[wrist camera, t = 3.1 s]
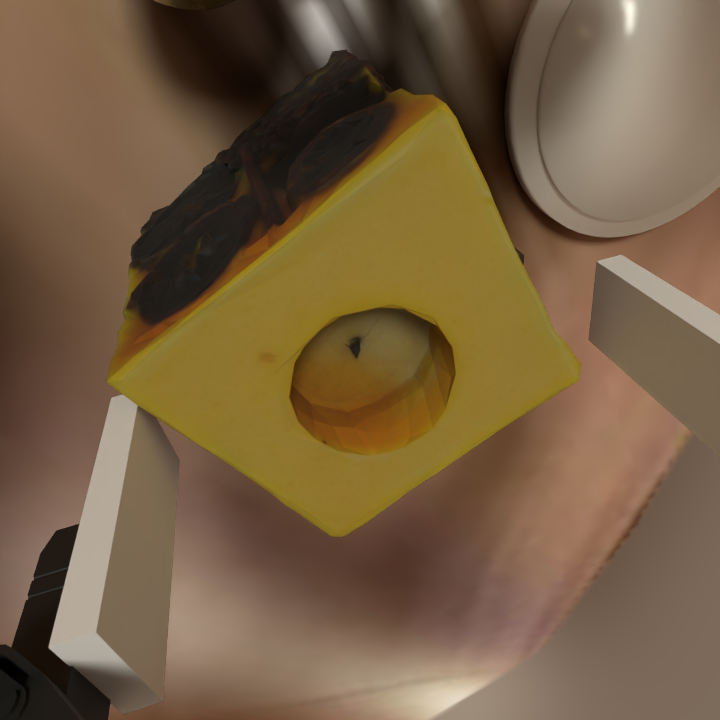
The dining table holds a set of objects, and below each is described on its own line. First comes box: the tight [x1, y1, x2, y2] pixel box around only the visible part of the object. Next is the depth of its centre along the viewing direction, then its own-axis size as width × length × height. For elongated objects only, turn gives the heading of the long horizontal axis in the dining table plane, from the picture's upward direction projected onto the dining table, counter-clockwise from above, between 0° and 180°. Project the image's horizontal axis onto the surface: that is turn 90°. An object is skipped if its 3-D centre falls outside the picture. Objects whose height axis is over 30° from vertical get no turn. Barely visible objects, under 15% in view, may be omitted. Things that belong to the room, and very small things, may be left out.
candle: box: [106, 50, 581, 537], centre depth 18 cm, size 10×10×10 cm
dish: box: [504, 0, 720, 238], centre depth 21 cm, size 13×13×1 cm
